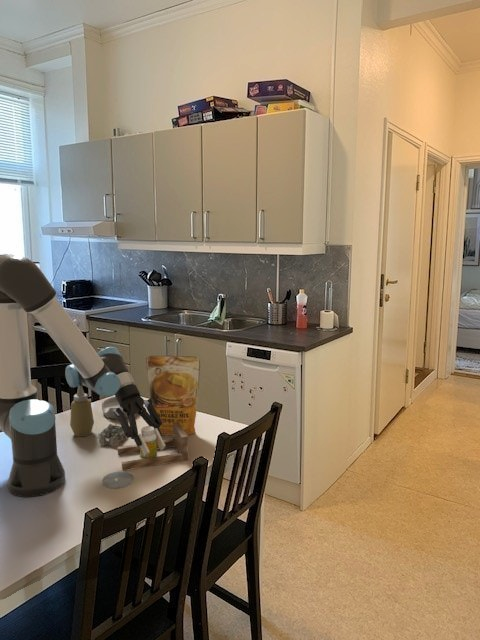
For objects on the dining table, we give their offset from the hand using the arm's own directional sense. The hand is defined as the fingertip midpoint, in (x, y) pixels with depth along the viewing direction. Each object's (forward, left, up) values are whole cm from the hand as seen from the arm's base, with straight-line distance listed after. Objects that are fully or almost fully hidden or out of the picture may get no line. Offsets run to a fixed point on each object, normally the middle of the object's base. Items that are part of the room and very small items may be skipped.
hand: (155, 450), depth 155 cm
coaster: (-13, -9, -3) cm, 16 cm away
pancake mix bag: (+10, +20, -4) cm, 23 cm away
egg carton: (-11, +21, -4) cm, 24 cm away
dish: (-6, +45, -4) cm, 46 cm away
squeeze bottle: (-21, +29, -4) cm, 36 cm away
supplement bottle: (-2, +3, -4) cm, 5 cm away
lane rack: (0, +3, -3) cm, 5 cm away
